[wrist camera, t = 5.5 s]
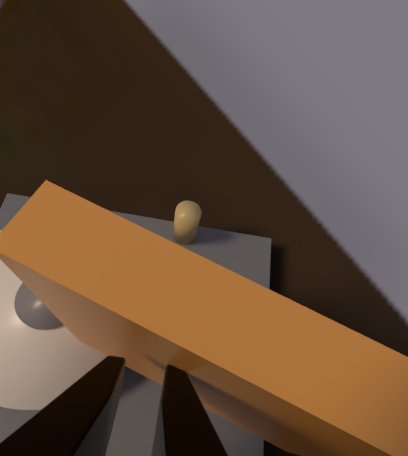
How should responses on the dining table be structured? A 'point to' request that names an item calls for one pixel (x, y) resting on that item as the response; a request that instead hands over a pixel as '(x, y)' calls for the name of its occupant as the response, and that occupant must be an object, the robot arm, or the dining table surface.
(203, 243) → the panel
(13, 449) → the robot arm
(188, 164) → the dining table surface
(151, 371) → the dial
